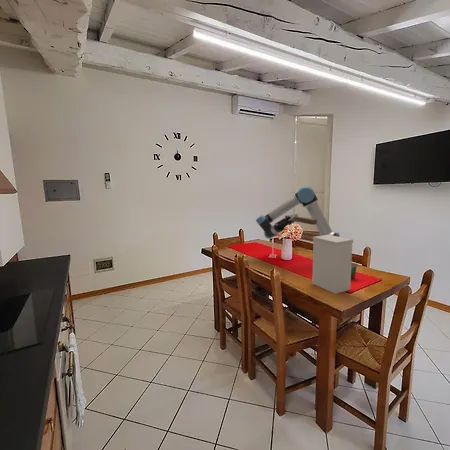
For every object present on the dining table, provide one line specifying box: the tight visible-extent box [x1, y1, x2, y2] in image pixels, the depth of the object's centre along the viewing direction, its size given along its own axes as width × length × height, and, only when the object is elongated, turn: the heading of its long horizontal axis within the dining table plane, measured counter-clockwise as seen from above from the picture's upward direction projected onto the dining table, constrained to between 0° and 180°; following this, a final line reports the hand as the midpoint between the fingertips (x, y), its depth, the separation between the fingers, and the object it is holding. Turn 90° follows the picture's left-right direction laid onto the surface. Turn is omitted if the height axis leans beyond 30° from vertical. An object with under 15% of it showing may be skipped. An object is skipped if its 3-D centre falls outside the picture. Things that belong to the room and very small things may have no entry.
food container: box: [351, 263, 358, 280], centre depth 176 cm, size 12×6×10 cm, turn 36°
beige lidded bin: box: [311, 235, 354, 295], centre depth 159 cm, size 13×18×30 cm
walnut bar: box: [284, 215, 317, 226], centre depth 181 cm, size 3×28×3 cm, turn 26°
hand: (295, 215), depth 184 cm, fingers closed on walnut bar, 3 cm apart
